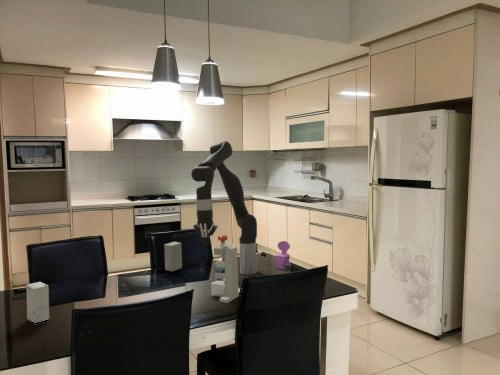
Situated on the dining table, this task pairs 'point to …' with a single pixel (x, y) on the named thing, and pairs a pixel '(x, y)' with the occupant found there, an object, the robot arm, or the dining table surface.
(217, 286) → the housing
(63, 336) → the dining table surface
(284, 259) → the purple upright piece
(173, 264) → the skincare box
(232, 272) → the press frame
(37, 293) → the skincare box
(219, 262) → the ram
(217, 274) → the light bulb box
